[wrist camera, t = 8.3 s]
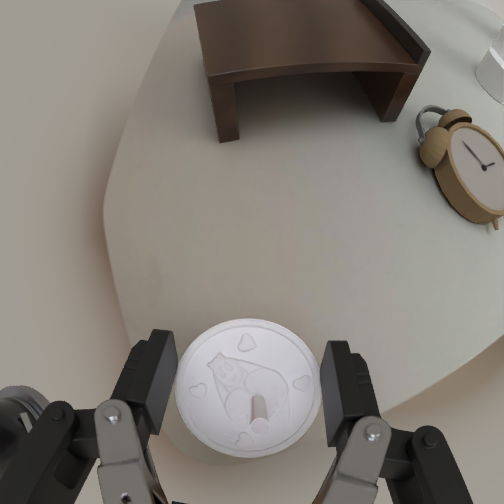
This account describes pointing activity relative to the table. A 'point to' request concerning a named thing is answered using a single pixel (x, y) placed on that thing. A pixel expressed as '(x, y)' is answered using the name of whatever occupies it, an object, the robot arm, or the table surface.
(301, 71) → the shelf
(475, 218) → the alarm clock
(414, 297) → the table surface
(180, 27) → the table surface
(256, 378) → the smoothie
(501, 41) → the cylinder with rectangular tab
